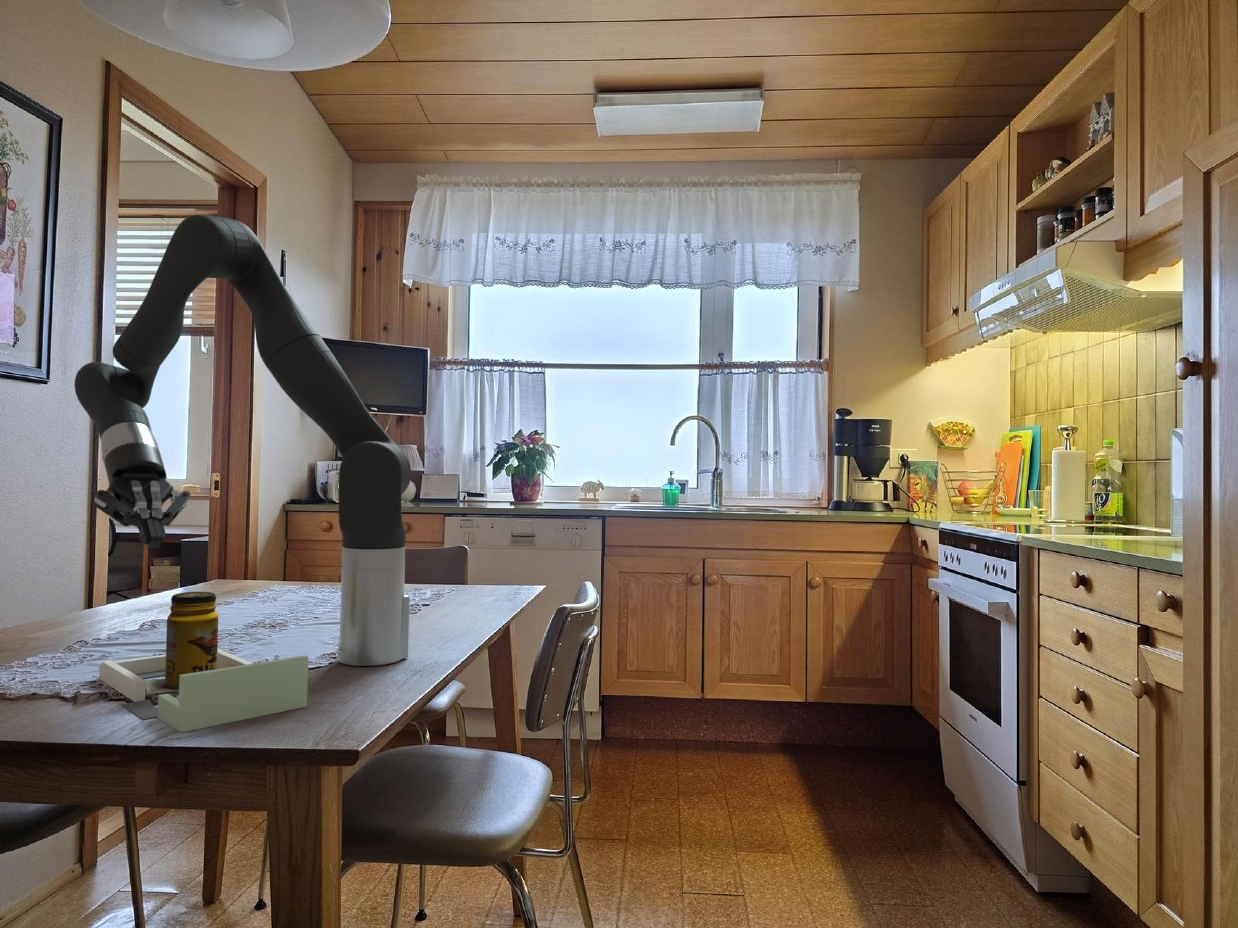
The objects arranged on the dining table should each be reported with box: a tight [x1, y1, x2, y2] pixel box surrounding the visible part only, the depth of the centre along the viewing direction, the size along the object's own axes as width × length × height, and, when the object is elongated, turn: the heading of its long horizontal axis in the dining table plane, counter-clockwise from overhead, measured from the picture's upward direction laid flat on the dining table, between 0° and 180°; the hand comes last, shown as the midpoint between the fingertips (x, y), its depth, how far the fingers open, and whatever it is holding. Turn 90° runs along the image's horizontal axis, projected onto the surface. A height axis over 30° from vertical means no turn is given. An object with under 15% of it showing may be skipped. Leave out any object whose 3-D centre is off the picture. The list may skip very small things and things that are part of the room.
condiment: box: [144, 591, 219, 695], centre depth 103 cm, size 7×8×12 cm
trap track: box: [98, 648, 309, 733], centre depth 99 cm, size 16×31×6 cm, turn 47°
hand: (155, 543), depth 112 cm, fingers closed
